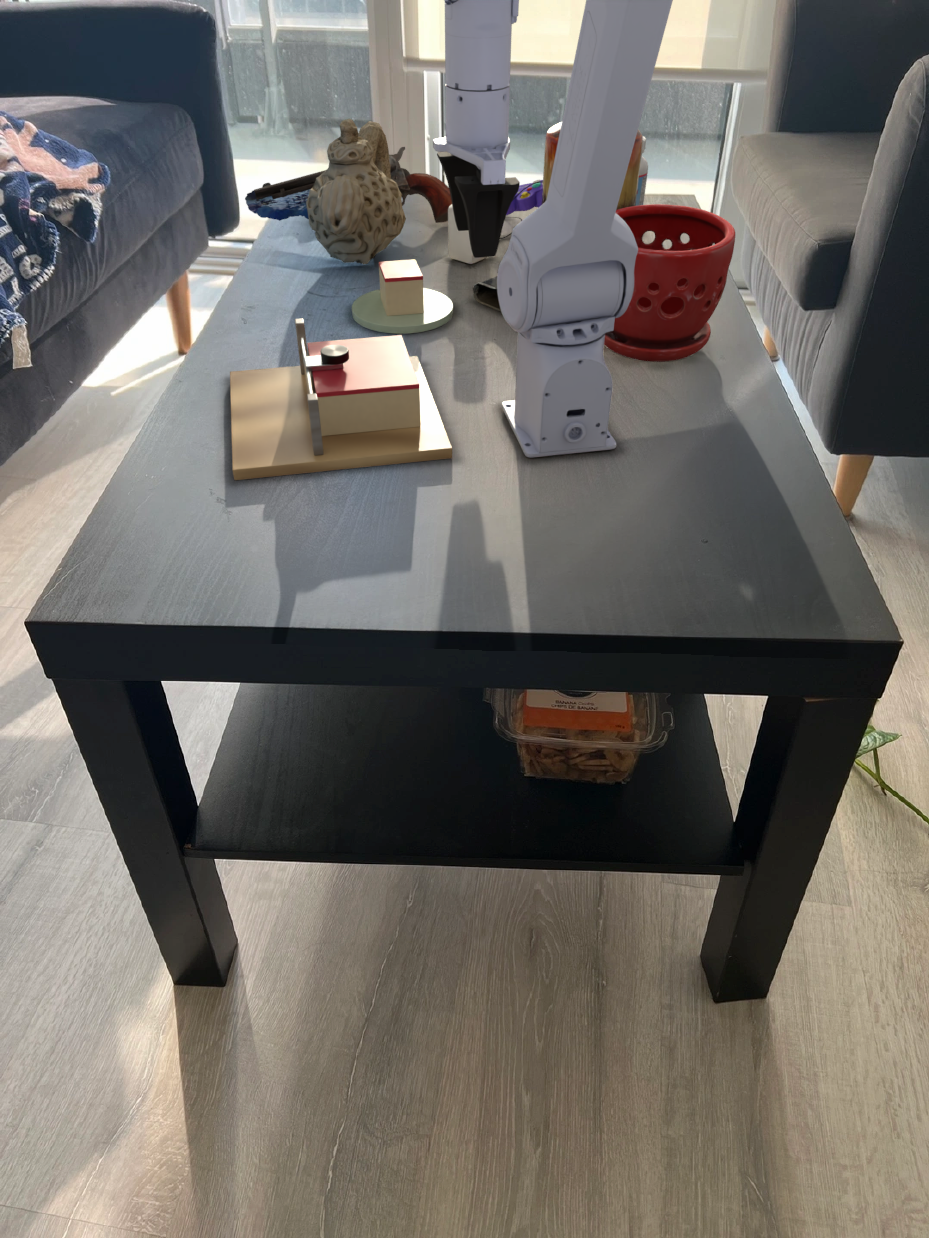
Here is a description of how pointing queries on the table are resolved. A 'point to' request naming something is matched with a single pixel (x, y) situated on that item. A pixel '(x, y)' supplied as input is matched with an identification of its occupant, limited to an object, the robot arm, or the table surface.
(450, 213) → the pepper shaker
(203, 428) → the table surface
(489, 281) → the camera
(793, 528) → the table surface
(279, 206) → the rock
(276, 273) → the table surface
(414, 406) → the red and beige block
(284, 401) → the board
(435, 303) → the plate
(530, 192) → the game controller
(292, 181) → the revolver
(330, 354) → the blade
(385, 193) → the teapot
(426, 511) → the table surface
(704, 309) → the flower pot
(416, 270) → the cake slice
